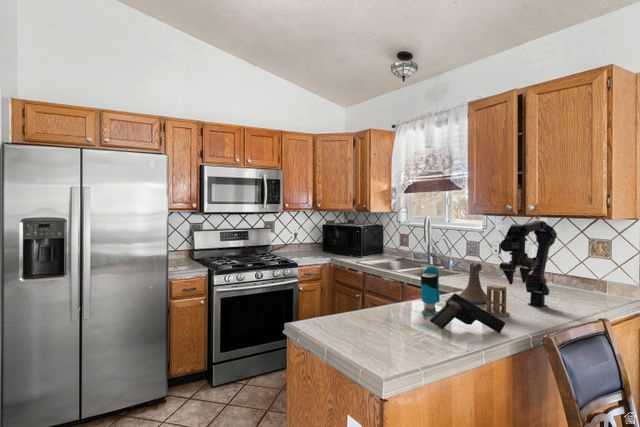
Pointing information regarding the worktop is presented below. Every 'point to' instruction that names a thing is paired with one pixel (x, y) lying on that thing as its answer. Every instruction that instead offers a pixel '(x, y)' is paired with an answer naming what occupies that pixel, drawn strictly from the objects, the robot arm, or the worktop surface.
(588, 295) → the worktop surface
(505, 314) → the mat
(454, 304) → the handgun
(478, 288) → the sculpture
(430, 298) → the security camera
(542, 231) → the robot arm
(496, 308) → the stool
